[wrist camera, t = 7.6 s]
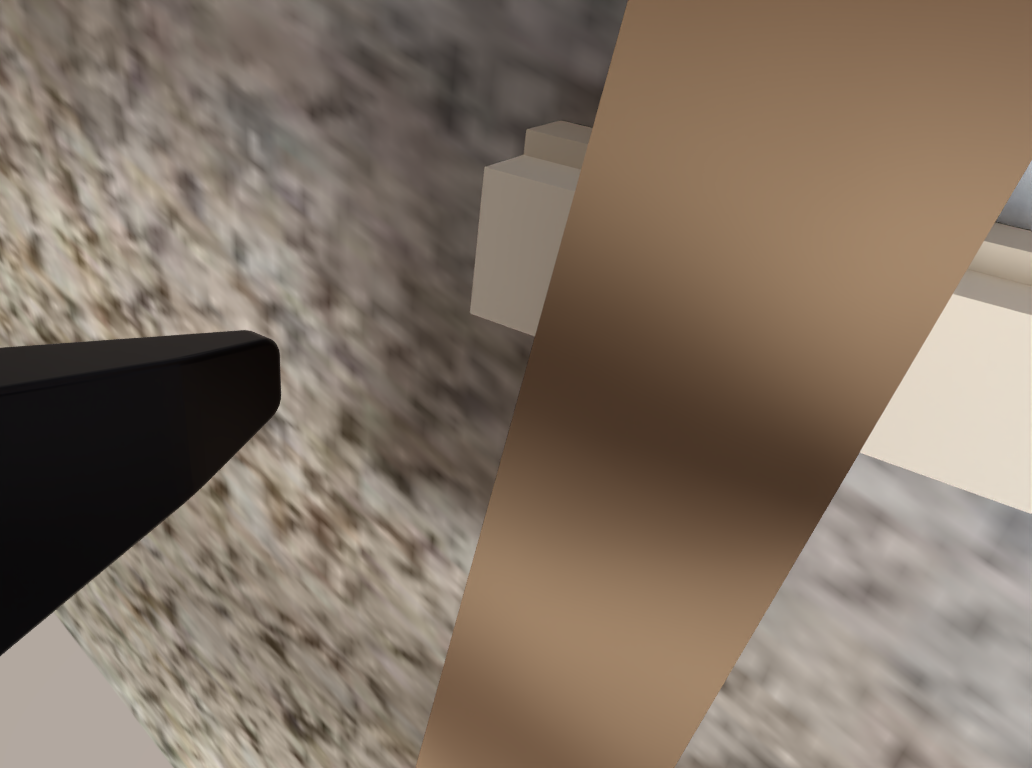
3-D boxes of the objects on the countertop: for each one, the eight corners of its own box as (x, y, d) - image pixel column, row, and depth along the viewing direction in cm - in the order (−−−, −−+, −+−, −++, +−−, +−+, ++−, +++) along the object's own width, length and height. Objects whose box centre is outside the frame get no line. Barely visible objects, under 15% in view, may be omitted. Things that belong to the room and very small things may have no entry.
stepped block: (1056, 466, 15) (1065, 555, 12) (535, 293, 19) (467, 335, 16) (1169, 263, 13) (1206, 323, 10) (560, 120, 17) (487, 139, 14)
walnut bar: (668, 739, 18) (584, 919, 14) (519, 644, 19) (409, 788, 16) (1367, -504, 7) (1696, -971, 4) (932, -533, 9) (877, -906, 5)
